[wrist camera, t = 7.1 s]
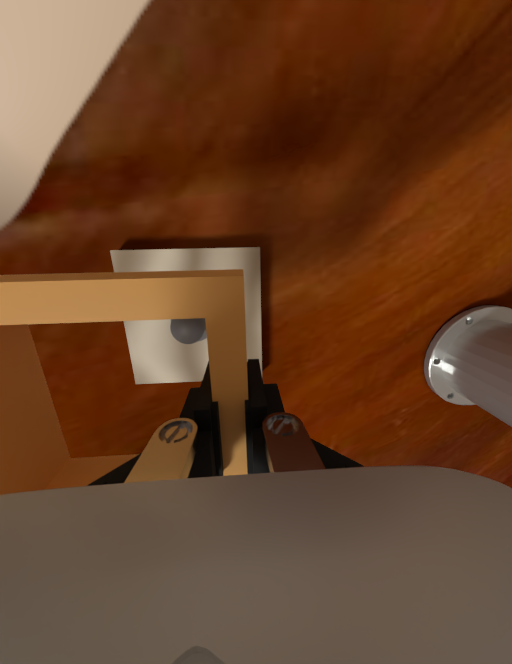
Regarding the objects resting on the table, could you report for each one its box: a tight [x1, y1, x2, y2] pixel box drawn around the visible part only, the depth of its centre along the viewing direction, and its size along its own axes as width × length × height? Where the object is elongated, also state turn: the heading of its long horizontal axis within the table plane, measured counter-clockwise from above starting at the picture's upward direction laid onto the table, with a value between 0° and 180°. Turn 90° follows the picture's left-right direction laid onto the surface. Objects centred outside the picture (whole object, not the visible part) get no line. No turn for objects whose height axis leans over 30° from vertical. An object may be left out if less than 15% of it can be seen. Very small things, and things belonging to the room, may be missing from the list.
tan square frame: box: [0, 269, 248, 495], centre depth 10 cm, size 11×11×4 cm
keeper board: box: [110, 247, 262, 384], centre depth 24 cm, size 14×14×4 cm
